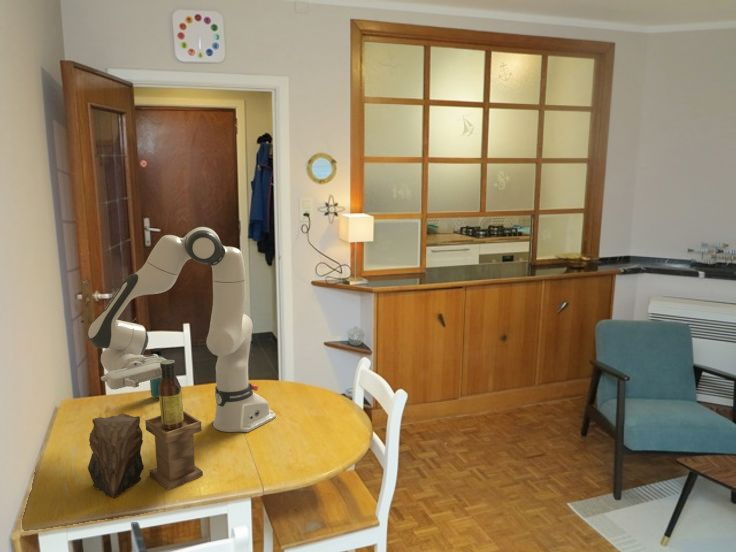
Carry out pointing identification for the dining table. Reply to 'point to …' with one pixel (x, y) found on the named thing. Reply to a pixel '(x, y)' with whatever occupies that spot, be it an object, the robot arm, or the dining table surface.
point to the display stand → (174, 451)
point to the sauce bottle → (170, 397)
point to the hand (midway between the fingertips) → (151, 380)
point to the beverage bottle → (155, 382)
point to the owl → (115, 453)
